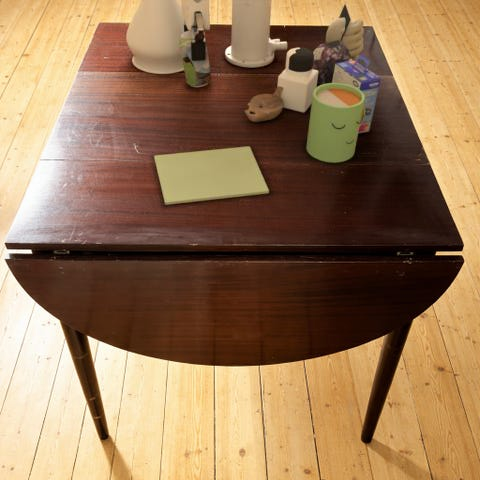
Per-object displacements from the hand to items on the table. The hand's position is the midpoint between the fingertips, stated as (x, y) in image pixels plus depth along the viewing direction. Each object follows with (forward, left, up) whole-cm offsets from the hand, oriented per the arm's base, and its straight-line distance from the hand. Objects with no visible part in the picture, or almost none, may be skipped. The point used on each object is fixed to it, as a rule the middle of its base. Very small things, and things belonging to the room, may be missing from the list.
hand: (194, 50), depth 140 cm
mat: (+4, +38, -8) cm, 39 cm away
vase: (+6, -14, -8) cm, 17 cm away
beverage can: (0, 0, -8) cm, 8 cm away
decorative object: (-39, -6, -8) cm, 41 cm away
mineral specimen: (-32, +4, -8) cm, 33 cm away
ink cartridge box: (-30, +24, -8) cm, 39 cm away
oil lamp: (-13, +17, -8) cm, 23 cm away
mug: (-24, +33, -8) cm, 42 cm away
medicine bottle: (-21, +13, -8) cm, 26 cm away
